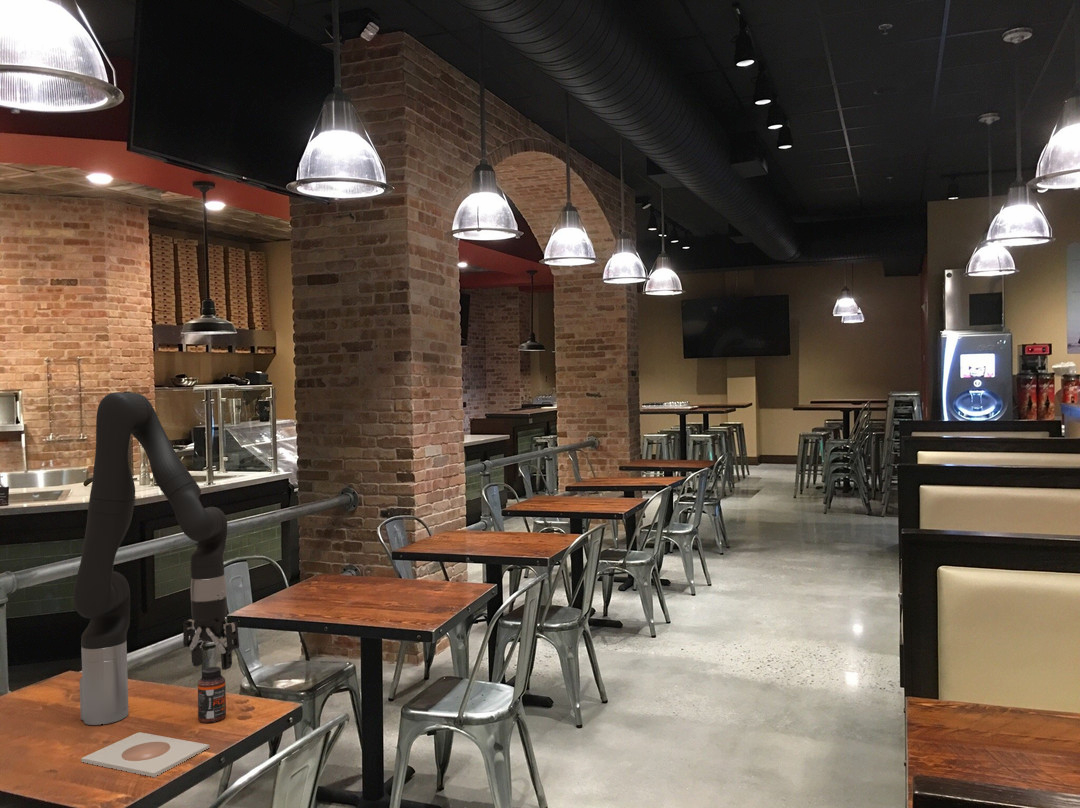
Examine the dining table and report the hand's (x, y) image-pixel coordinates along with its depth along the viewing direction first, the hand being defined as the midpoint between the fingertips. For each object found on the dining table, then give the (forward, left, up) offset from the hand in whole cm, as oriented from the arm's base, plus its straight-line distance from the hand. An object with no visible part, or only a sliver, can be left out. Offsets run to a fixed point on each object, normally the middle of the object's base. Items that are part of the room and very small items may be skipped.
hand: (212, 667), depth 190 cm
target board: (+2, -20, -12) cm, 23 cm away
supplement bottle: (0, 0, -12) cm, 12 cm away
